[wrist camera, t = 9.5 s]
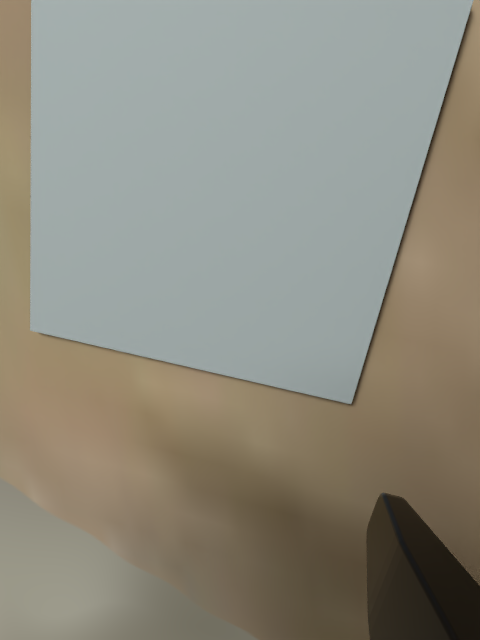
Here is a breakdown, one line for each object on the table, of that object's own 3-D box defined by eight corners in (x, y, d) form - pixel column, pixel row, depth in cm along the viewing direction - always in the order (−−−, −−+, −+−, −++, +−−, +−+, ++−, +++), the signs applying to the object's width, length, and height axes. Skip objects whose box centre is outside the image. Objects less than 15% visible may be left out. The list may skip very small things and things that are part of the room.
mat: (468, 4, 15) (473, -1, 15) (350, 399, 21) (351, 404, 20) (39, -60, 17) (31, -66, 16) (36, 327, 22) (30, 330, 22)
